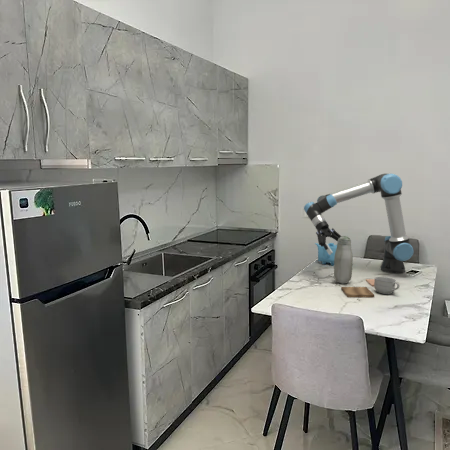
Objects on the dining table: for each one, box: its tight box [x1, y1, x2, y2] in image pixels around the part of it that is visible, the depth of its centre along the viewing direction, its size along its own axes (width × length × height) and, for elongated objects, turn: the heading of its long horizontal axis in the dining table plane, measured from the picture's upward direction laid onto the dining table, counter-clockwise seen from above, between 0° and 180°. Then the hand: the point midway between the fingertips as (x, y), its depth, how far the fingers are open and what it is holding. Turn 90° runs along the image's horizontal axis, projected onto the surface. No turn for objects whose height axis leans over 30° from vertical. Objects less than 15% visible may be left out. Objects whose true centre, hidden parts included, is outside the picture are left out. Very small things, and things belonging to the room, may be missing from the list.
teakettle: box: [314, 242, 337, 267], centre depth 292 cm, size 19×19×15 cm
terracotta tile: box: [365, 278, 375, 288], centre depth 242 cm, size 12×12×1 cm
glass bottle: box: [333, 235, 354, 285], centre depth 242 cm, size 10×10×28 cm
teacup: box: [374, 276, 401, 295], centre depth 224 cm, size 14×11×8 cm
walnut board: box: [340, 286, 375, 299], centre depth 224 cm, size 14×14×2 cm
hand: (338, 252), depth 243 cm, fingers open, 13 cm apart
